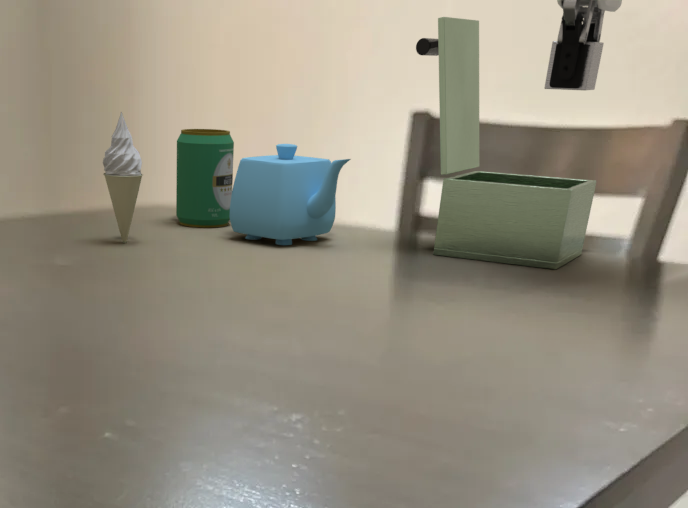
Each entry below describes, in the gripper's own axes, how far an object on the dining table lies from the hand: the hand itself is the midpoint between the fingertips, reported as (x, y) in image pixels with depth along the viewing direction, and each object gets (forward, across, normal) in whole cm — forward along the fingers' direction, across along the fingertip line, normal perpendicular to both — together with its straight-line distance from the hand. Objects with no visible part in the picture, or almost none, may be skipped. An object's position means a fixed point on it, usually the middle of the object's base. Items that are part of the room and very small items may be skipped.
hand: (570, 85), depth 106 cm
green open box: (+19, +9, +6) cm, 22 cm away
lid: (+2, +10, +15) cm, 18 cm away
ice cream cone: (+19, -14, +50) cm, 55 cm away
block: (0, 0, 0) cm, 0 cm away
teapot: (+19, +1, +33) cm, 39 cm away
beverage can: (+19, +6, +50) cm, 54 cm away
